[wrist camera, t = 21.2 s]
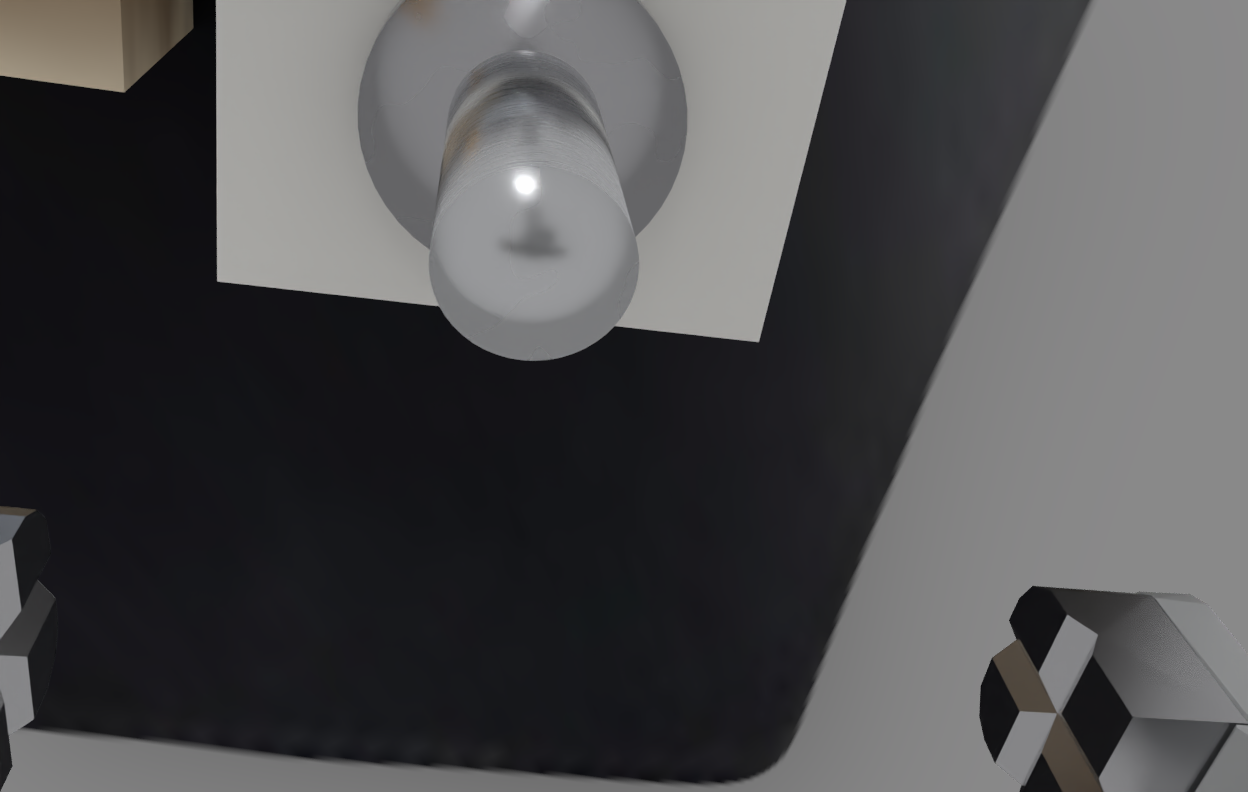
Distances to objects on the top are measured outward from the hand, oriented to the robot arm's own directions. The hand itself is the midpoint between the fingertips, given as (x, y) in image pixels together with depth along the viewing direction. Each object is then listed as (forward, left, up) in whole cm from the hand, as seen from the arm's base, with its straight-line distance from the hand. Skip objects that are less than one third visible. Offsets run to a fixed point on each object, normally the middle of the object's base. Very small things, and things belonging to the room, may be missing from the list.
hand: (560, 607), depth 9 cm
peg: (0, 0, -22) cm, 22 cm away
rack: (0, 0, -22) cm, 22 cm away
